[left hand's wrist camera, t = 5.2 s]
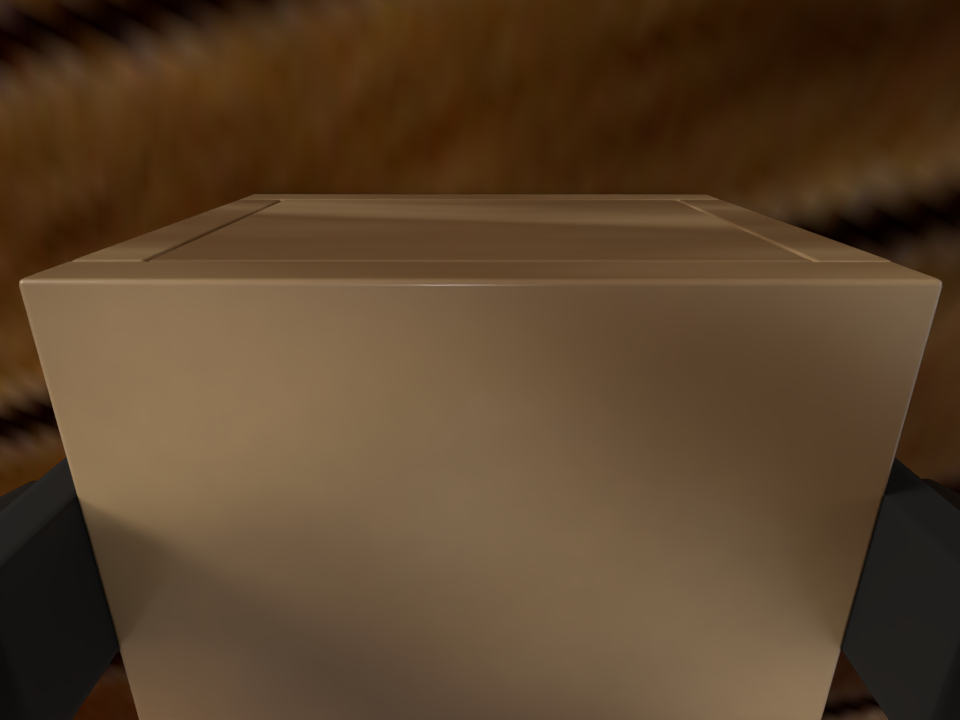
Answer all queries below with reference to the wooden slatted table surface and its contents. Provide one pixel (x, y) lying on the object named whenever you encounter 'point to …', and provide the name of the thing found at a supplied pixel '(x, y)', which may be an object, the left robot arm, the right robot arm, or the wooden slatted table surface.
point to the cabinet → (480, 453)
